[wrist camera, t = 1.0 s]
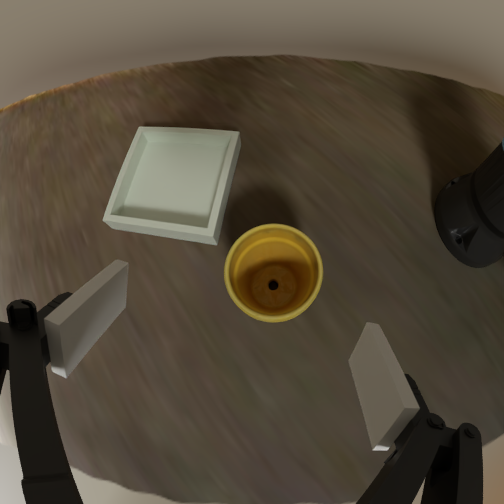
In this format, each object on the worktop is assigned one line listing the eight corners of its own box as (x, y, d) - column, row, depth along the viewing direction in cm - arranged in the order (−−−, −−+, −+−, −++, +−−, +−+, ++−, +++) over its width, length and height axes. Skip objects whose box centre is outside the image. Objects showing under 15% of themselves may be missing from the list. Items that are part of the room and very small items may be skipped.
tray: (241, 145, 49) (239, 131, 45) (217, 245, 44) (213, 236, 41) (145, 138, 50) (139, 126, 47) (112, 228, 46) (102, 220, 42)
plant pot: (225, 260, 43) (213, 236, 34) (299, 241, 43) (306, 212, 34) (244, 335, 40) (236, 331, 31) (321, 314, 40) (336, 304, 31)
